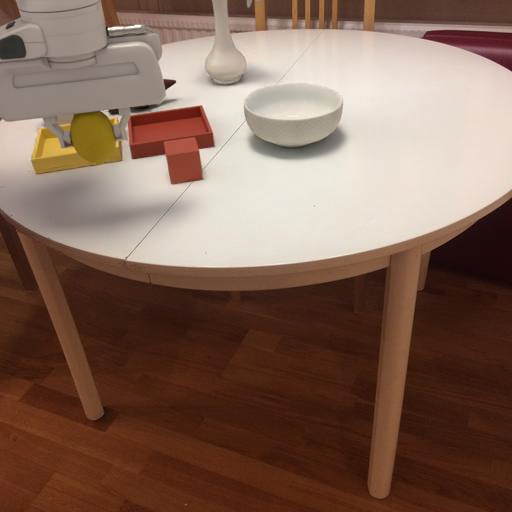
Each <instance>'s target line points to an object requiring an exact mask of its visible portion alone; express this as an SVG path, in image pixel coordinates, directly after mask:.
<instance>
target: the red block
mask: <svg viewBox="0 0 512 512" xmlns="http://www.w3.org/2000/svg"><path fill="white" fill-rule="evenodd" d="M164 147H165V153H166V154H165V158H166V163H167V168H168V170H167V171H168V175H169V179H170V184H171V185H175V184H176V185H177V184H180V183H187V182H193V181H199V180H204V176H203V167H202V162H201V154H200V149H199V148H198V145H197V142H196V139H195V137H191V138H185V139H178V140H171V141H165V142H164Z"/></svg>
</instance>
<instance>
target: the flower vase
mask: <svg viewBox="0 0 512 512" xmlns="http://www.w3.org/2000/svg"><path fill="white" fill-rule="evenodd" d="M255 1H256V2H257V3H260V2H261V0H255ZM228 2H229V1H228V0H211V4H212V9H213V20H214V21H213V22H214V42H213V46H212V48H211V50H210V52H209V53H208V54H207V56H206V58H205V61H204V70H205V72H206V73H207V75H208V76H209V77H211V78H212V81H213V83H215V84H217V85H231V84H236V83H238V82H240V81H241V78H242V77H241V76H242V75H243V74H244V73H245V71H246V69H247V67H248V66H247V63H248V62H247V59H246V57H245V56H244V54H243V53H242V52H241V51H240V50H239V49H238V48H237V47H236V44H235V43H234V40H233V38H232V34H231V27H230V19H229V18H230V17H229V9H228ZM252 2H253V0H246V8H248V9H249V8H250V7H251V5H252Z"/></svg>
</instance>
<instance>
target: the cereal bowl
mask: <svg viewBox="0 0 512 512" xmlns="http://www.w3.org/2000/svg"><path fill="white" fill-rule="evenodd" d="M343 110H344V99H343V96H342V94H340V92H338V91H337V90H335V89H333V88H331V87H328V86H325V85H321V84H315V83H308V82H306V83H305V82H285V83H276V84H271V85H267V86H263V87H260V88H257V89H255V90H253V91H251V92H250V93H249V94H247V95H246V97H245V98H244V102H243V112H244V117H245V122H246V124H247V126H248V128H249V129H250V130H251V132H252V133H253V134H254V135H256V136H257V137H259V139H262V140H263V141H266V142H269V143H272V144H275V145H276V146H279V147H283V148H299V147H304V146H305V147H306V146H307V145H310V144H312V143H316V142H319V141H322V140H323V139H325V138H327V137H329V136H330V135H331V134H332V133H333V132H334V131H335V130H336V129H337V128H338V126H339V124H340V122H341V119H342V116H343Z"/></svg>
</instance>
